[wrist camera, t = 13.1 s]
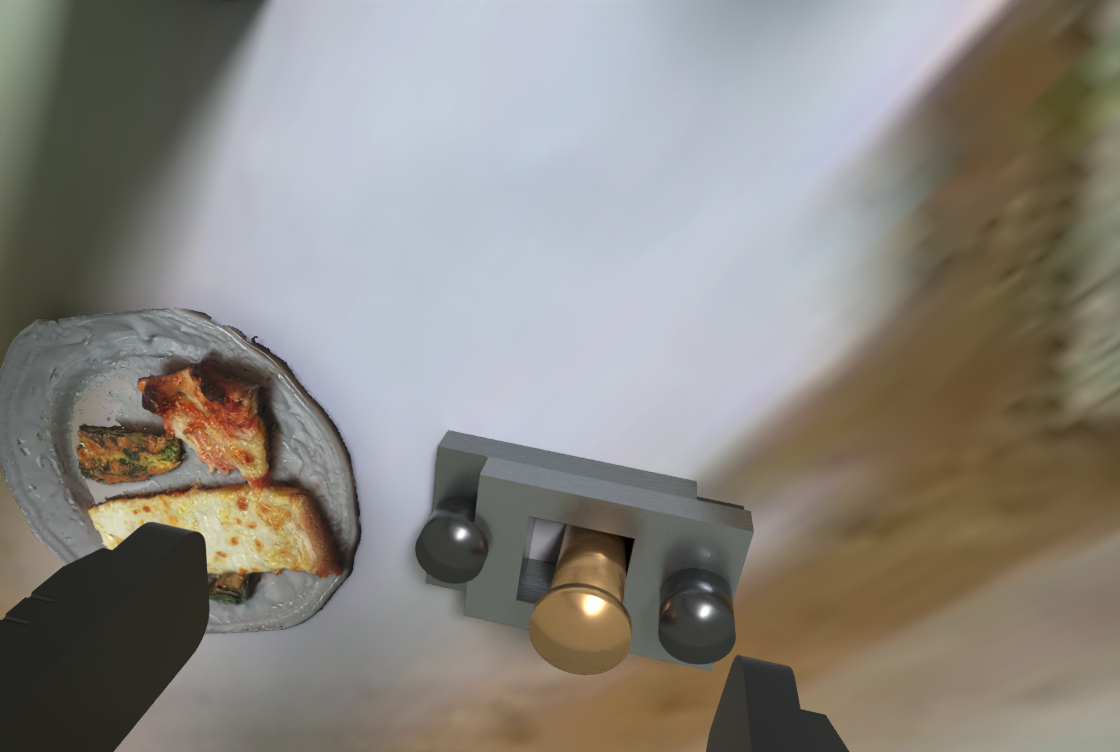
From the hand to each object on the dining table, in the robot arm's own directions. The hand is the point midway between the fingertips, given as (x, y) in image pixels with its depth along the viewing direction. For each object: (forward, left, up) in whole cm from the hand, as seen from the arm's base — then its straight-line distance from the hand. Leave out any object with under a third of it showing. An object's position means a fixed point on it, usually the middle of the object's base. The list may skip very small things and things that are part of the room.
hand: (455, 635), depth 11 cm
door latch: (+1, -19, -30) cm, 35 cm away
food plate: (-25, -21, -30) cm, 44 cm away
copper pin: (+2, -19, -30) cm, 35 cm away
